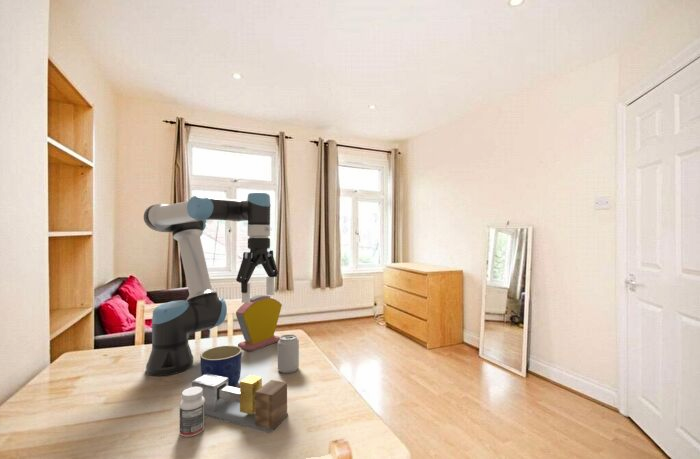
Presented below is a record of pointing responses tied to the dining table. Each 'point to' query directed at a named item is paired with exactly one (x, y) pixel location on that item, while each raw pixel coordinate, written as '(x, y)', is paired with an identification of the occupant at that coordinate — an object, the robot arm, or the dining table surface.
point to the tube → (242, 393)
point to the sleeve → (211, 390)
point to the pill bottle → (192, 412)
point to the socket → (271, 404)
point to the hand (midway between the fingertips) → (258, 298)
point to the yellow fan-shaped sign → (258, 322)
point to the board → (237, 416)
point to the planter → (222, 363)
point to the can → (288, 353)
